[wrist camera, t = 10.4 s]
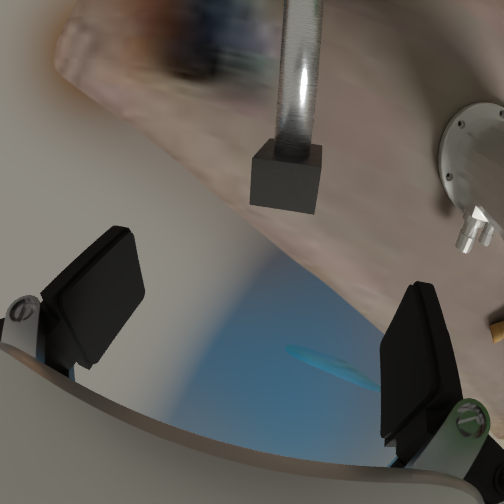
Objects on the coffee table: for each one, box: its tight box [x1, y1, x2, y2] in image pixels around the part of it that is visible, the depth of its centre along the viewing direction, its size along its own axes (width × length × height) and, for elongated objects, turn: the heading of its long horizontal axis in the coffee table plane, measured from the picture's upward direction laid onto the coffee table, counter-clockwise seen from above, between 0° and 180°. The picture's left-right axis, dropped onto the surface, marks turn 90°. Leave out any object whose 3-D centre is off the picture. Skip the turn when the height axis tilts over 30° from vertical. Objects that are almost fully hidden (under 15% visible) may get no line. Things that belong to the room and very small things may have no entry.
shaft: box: [250, 0, 323, 215], centre depth 15 cm, size 20×4×6 cm, turn 177°
